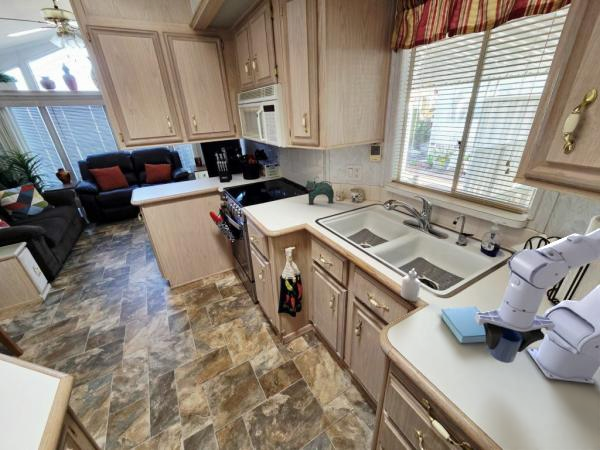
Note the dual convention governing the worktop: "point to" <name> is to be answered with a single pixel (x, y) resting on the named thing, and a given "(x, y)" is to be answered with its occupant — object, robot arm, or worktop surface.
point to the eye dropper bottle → (410, 286)
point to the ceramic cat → (319, 190)
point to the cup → (507, 345)
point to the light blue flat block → (464, 324)
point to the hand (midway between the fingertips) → (502, 347)
